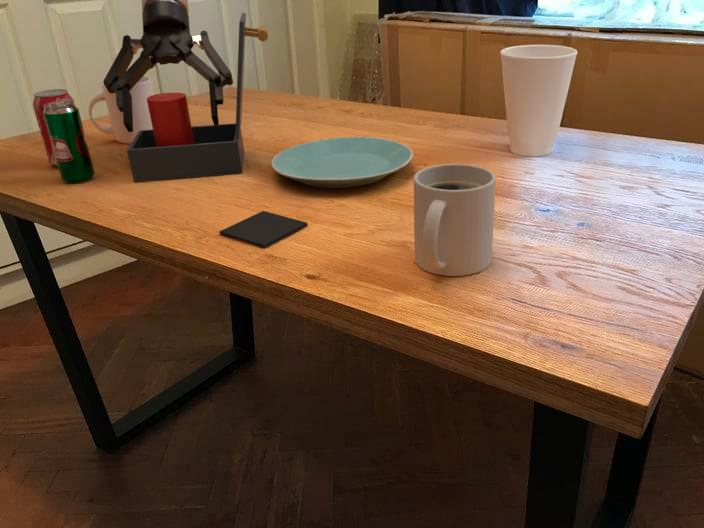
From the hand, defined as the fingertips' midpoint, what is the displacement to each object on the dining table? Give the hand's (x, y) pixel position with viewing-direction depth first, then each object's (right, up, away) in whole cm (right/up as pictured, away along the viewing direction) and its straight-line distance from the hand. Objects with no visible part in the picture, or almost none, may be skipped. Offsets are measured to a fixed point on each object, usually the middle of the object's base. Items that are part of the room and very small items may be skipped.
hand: (172, 124), depth 106 cm
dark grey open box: (+2, -6, +4) cm, 7 cm away
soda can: (-15, -9, 0) cm, 17 cm away
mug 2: (+41, -23, -30) cm, 56 cm away
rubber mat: (+19, -19, -21) cm, 33 cm away
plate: (+28, -8, -2) cm, 29 cm away
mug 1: (-14, +2, +20) cm, 25 cm away
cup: (+59, -3, +5) cm, 59 cm away
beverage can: (-20, -5, +8) cm, 22 cm away
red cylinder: (0, -6, +3) cm, 7 cm away
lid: (+11, +7, -2) cm, 13 cm away
